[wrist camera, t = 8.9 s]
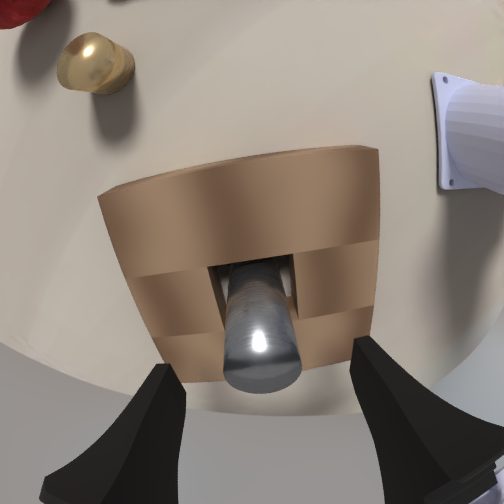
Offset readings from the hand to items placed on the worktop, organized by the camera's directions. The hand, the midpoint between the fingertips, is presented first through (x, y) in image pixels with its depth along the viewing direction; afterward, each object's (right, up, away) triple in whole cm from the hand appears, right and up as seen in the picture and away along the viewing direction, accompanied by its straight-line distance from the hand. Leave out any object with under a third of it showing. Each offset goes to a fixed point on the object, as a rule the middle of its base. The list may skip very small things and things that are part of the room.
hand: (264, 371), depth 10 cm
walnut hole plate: (0, +3, +7) cm, 8 cm away
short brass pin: (-8, +15, +1) cm, 17 cm away
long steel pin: (0, +4, +7) cm, 8 cm away
